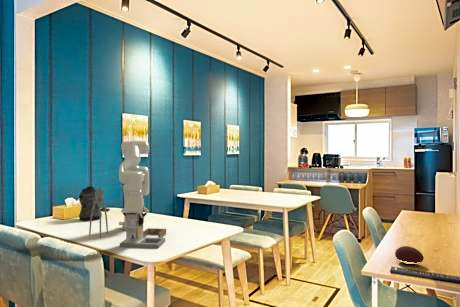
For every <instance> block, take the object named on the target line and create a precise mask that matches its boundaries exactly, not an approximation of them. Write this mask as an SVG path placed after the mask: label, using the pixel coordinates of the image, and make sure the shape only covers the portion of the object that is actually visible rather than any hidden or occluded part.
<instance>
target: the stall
mask: <svg viewBox="0 0 460 307" xmlns="http://www.w3.org/2000/svg"><path fill="white" fill-rule="evenodd" d="M149 235H158V237H157V238H165V236H166V235H167V228H157V227H156V228H149V227H148V228H146V229H145V230H143V237H147V236H149Z"/></svg>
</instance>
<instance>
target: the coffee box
mask: <svg viewBox="0 0 460 307" xmlns="http://www.w3.org/2000/svg"><path fill="white" fill-rule="evenodd" d="M140 218H141V217H140V215H139V214H138V213H126V230H125V232H126V233H125V234H126V236H125V237H126V239H125V240H126V241H127V242H137V241H139V240H140V239H142V238H143V231H144V223H143V224H142V225H140Z"/></svg>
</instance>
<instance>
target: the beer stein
mask: <svg viewBox="0 0 460 307" xmlns="http://www.w3.org/2000/svg"><path fill="white" fill-rule="evenodd" d="M95 191H96V189H95V187H94V186H86V188H82V190H81V192H80V194H79V195H78V199H79V203H80V205H81V206H80V212H79V215H78V218H79V221H80V222H90V218H91V212H92V207H93V203H94V200H96V197H95ZM102 215H103V213H102V212H101V217H102ZM94 221H100V209H99V207H98V204H97V203H95V207H94V211H93V216H92V222H94Z"/></svg>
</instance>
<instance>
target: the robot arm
mask: <svg viewBox="0 0 460 307" xmlns="http://www.w3.org/2000/svg"><path fill="white" fill-rule="evenodd" d="M120 149H121V152H122V155H123V157H124V160H123V161H121V164H120V166H119V169H118V178H119V182H120V183H121V184H123V186H122V191H123V200H124V204H123V205H124V206H123V208H122V209H121V210H120V212H121V213H122V215H123V217H124V221H119V222H118V225H119V226H121V229H122V230H124V231H126V213H138V214H139V215H140V217H141V218H140V225H142V224H143V225H144V221H145V217H146V216H147V214H148V213H149V212H150V210H149V209H148V208H146V207H145V200H144V196H145V197H147V196H148V195H149V194H150V170H149V168H148V167H147V166H140V165H139V163H140V162H141V154H142V155H147V154H149V152H150V144H149V142H148V141H146V140H128V141H127V140H125V141H123V142H122V143H121V148H120Z"/></svg>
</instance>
